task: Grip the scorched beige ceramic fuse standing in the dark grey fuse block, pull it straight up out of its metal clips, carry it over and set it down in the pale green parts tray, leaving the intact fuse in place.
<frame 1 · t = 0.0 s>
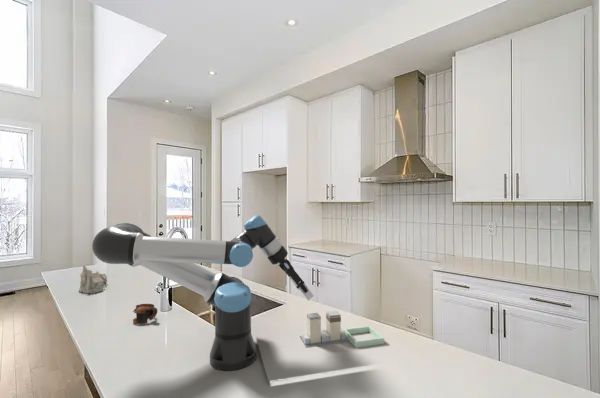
hand: (305, 292, 122), 15 cm above the countertop, fingers open, 13 cm apart
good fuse: (313, 340, 112), point 1 cm above the countertop, touching fuse block
parts tray: (363, 341, 113), on the countertop
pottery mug: (145, 321, 134), on the countertop
ceramic cottage: (95, 289, 181), on the countertop
fuse block: (323, 342, 113), on the countertop
blown fuse: (333, 337, 114), point 1 cm above the countertop, touching fuse block
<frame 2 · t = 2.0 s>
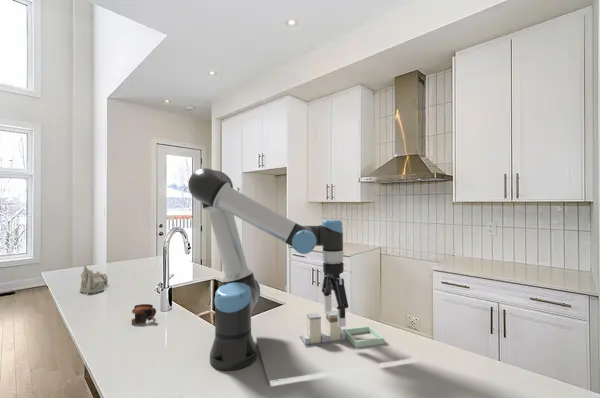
hand: (334, 319, 114), 8 cm above the countertop, fingers open, 13 cm apart
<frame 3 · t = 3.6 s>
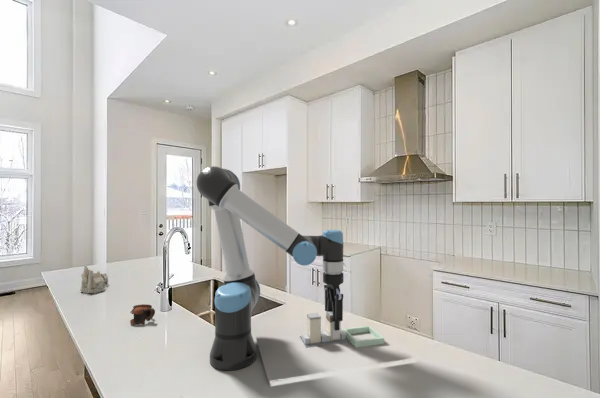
hand: (333, 335, 114), 2 cm above the countertop, fingers closed on blown fuse, 4 cm apart
blown fuse: (333, 337, 114), point 1 cm above the countertop, touching fuse block, gripper
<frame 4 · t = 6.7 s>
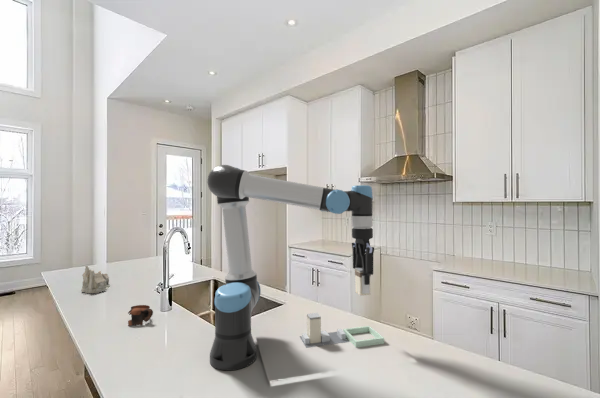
hand: (362, 291, 113), 19 cm above the countertop, fingers closed on blown fuse, 4 cm apart
blown fuse: (362, 293, 113), point 18 cm above the countertop, touching gripper
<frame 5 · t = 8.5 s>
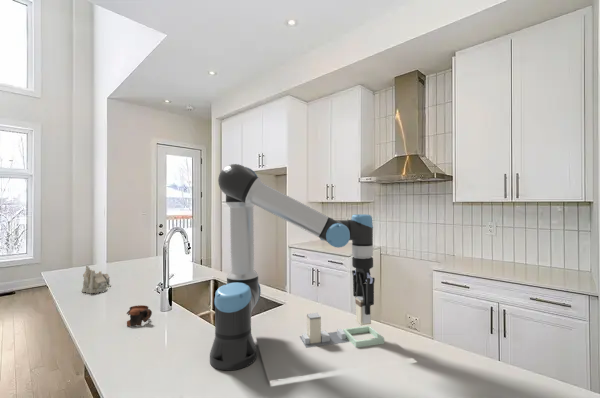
hand: (363, 320, 113), 8 cm above the countertop, fingers closed on blown fuse, 4 cm apart
blown fuse: (363, 322, 113), point 7 cm above the countertop, touching gripper
when the fingers open (4 cm above the countertop, at t = 10.0 s): blown fuse drops 2 cm, resting on parts tray.
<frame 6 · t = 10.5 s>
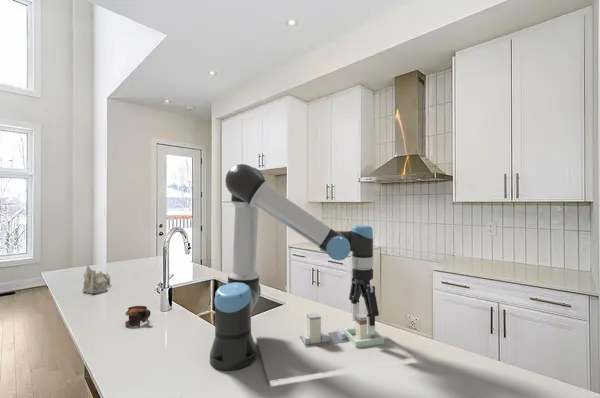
hand: (362, 327, 113), 5 cm above the countertop, fingers open, 11 cm apart
blown fuse: (363, 340, 113), point 1 cm above the countertop, touching parts tray
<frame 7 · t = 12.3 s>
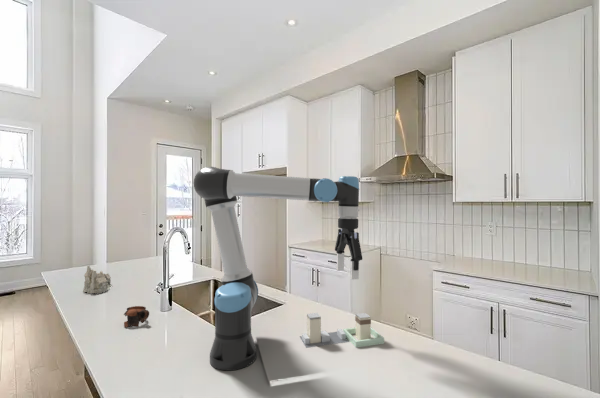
hand: (347, 274, 116), 24 cm above the countertop, fingers open, 13 cm apart
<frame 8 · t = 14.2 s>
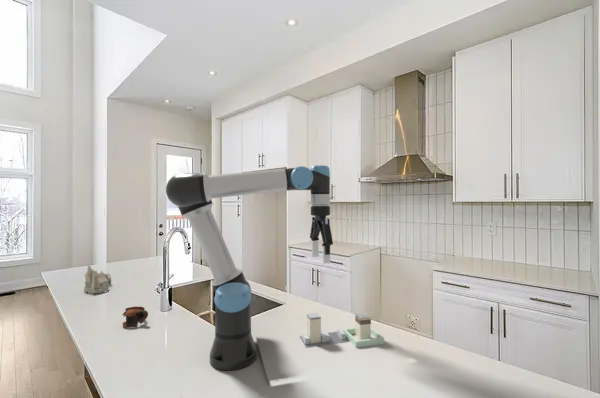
hand: (320, 259, 121), 29 cm above the countertop, fingers open, 13 cm apart
at the end: blown fuse inside the target area on the parts tray (0.0 cm from its centre), point 0.6 cm above the parts tray's base; the gripper is holding nothing; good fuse moved 0.0 cm from its start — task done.
